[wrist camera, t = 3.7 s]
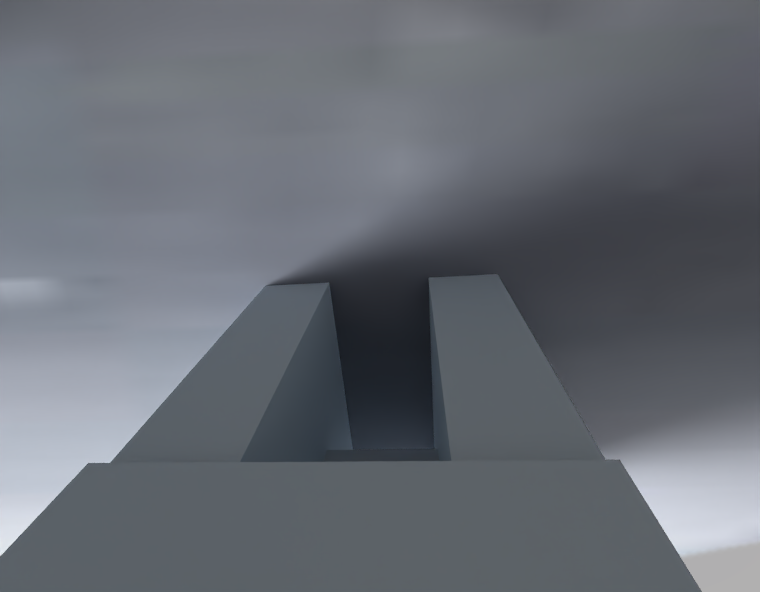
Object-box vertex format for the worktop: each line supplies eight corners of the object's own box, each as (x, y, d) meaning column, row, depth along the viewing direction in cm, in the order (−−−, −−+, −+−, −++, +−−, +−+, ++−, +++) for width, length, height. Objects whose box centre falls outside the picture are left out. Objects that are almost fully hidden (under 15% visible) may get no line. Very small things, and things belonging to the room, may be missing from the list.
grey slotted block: (308, 488, 16) (196, 894, 7) (263, 276, 12) (-52, 611, 4) (488, 488, 15) (585, 935, 7) (497, 264, 11) (729, 636, 3)
